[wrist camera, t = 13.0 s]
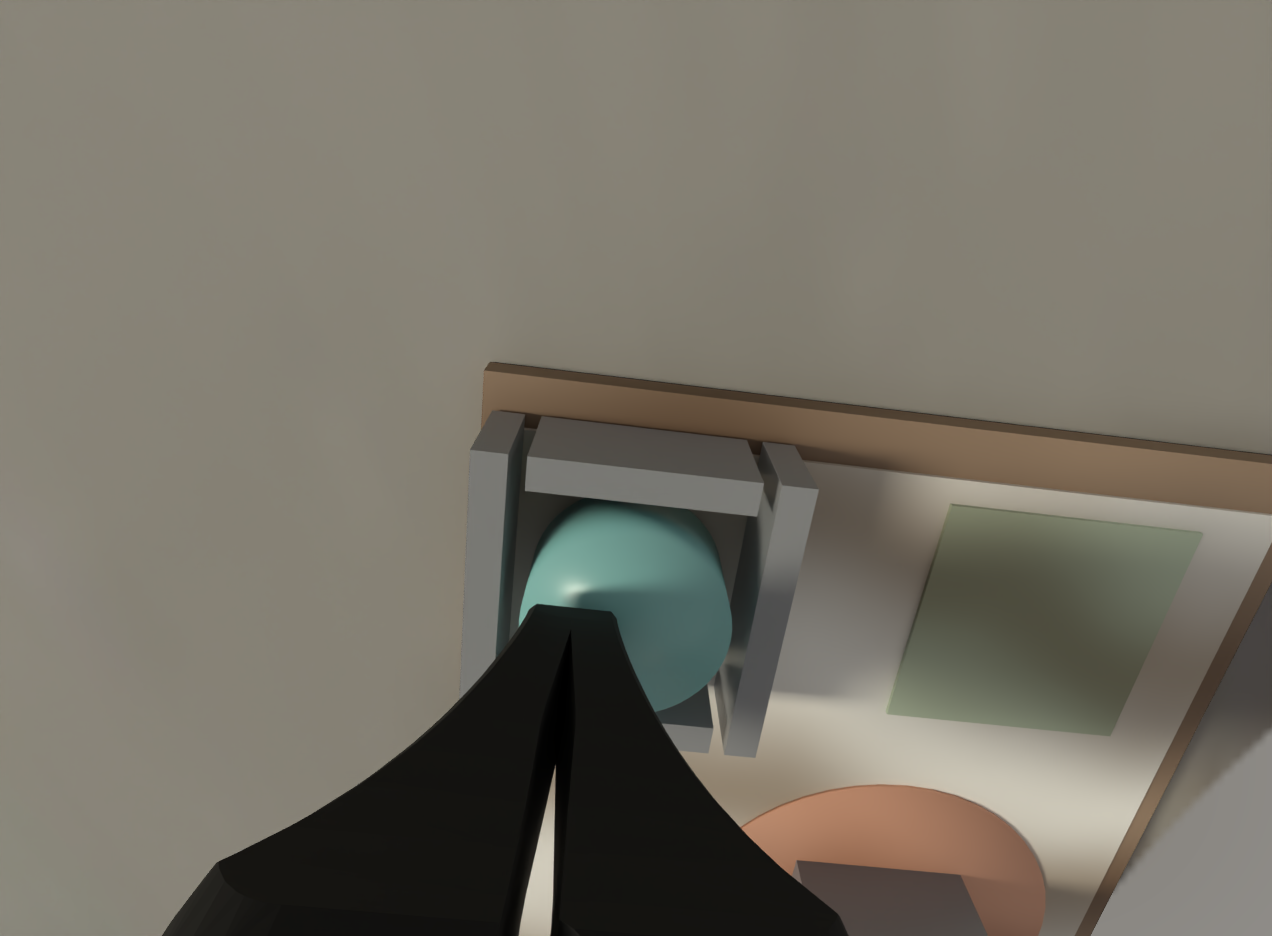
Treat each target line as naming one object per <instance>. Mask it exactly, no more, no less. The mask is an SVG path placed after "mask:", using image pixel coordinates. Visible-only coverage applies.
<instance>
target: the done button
mask: <svg viewBox="0 0 1272 936" xmlns="http://www.w3.org/2000/svg"><path fill="white" fill-rule="evenodd" d="M536 604H545V605H554V606H564V607H573V608H583V609H592V610H602V611H611V612H612V613H613V614H614V616H615V617H616V618H617V623H618V627H619V631H620V634H621V637H622V640H623V643H624V646H625V649H626V651H627V654H628V656H629V659H630V662H631V664H632V666H633V669H634V671H635V673H636V675H637V677H638V679H639V681H640V683H641V686H642V688H643V690H644V692H645V694H646V696H647V698H648V700H649V702H650V704H651V705H652V707H653V709H654V711H655V712H657V711H660V710H664V709H667V708H669V707H672V706H674V705H677V704H679V703H681V702H683V701H684V700H686V699H688V698H690V697H691V696H693V695H694V694H695V693H697V692H698V691H700V690H701V689H702V688H703V687H704V686H705V685H706V684H707V683H708V682H709V681H710V680H711V679H712V678H713V676H714V675H715V674H716V673H717V671H718V670H719V668H720V667H721V665H722V663H723V661H724V659H725V657H726V655H727V652H728V649H729V645H730V642H731V635H732V616H731V610H730V605H729V600H728V596H727V591H726V586H725V581H724V577H723V572H722V567H721V563H720V558H719V553H718V550H717V547H716V545H715V542H714V540H713V538H712V536H711V534H710V533H709V531H708V530H707V528H706V527H705V526H704V524H703V523H702V522H701V521H700V520H699V519H698V518H697V517H696V516H695V515H694V514H693V513H692V512H690V511H689V510H688V509H684V508H675V507H666V506H657V505H648V504H639V503H630V502H621V501H612V500H603V499H594V498H583V499H581V500H579V501H577V502H575V503H574V504H572V505H570V506H569V507H567V508H566V509H565V510H563V511H562V512H561V513H560V514H559V515H557V516H556V517H555V518H554V520H553V521H552V522H551V523H550V524H549V525H548V527H547V528H546V530H545V531H544V532H543V534H542V536H541V538H540V540H539V542H538V544H537V547H536V550H535V553H534V557H533V561H532V565H531V569H530V573H529V577H528V581H527V585H526V589H525V593H524V597H523V601H522V605H521V609H520V616H519V626H520V625H521V623H522V621H523V620H524V618H525V616H526V614H527V612H528V610H529V609H530V608H531V607H533V606H534V605H536Z"/></svg>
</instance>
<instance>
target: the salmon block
mask: <svg viewBox="0 0 1272 936" xmlns="http://www.w3.org/2000/svg"><path fill="white" fill-rule="evenodd" d="M792 877H793V878H795V879H796V880H797V881H798V882H800V883H801V884H802V885H803V886H804V887H806V888H807V889H808V890H809V891H811V892H812V893H813V894H814V895H816V896H817V897H818V898H819V899H820V900H822V901H823V902H824V903H825V904H827V905H828V906H829V907H830V908H831V909H833V910H834V911H835V912H836V913H838V915H839V916H840V918H841V920H842V922H843V924H844V926H845V929H846V931H847V933H848V935H849V936H988V935H987V932H986V930H985V928H984V926H983V924H982V921H981V919H980V917H979V915H978V913H977V910H976V908H975V906H974V904H973V902H972V899H971V897H970V895H969V893H968V891H967V888H966V886H965V884H964V882H963V880H962V877H961V875H958V874H947V873H936V872H925V871H913V870H902V869H891V868H880V867H869V866H858V865H846V864H835V863H824V862H813V861H802V860H796V863H795V867H794V870H793V874H792Z"/></svg>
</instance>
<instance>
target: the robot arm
mask: <svg viewBox="0 0 1272 936" xmlns="http://www.w3.org/2000/svg"><path fill="white" fill-rule="evenodd" d="M555 765H556V771H555V819H554V871H553V905H552V922H551V933H550V936H849V935H848V933H847V931H846V929H845V926H844V924H843V922H842V920H841V918H840V916H839V915H838V913H836V912H835V911H834V910H833V909H831V908H830V907H829V906H828V905H827V904H825V903H824V902H823V901H822V900H820V899H819V898H818V897H817V896H816V895H814V894H813V893H812V892H811V891H809V890H808V889H807V888H806V887H804V886H803V885H802V884H801V883H800V882H798V881H797V880H796V879H795V878H793V877H792V876H791V875H790V874H789V873H787V872H786V871H785V870H784V869H783V868H781V867H780V866H779V865H778V864H777V863H776V862H775V861H774V860H773V859H772V858H771V857H770V856H769V855H767V854H766V853H765V852H764V851H763V850H762V849H761V848H760V847H759V846H758V845H757V844H756V843H755V842H754V841H753V840H752V839H751V838H750V837H749V836H748V835H747V834H746V833H745V832H744V831H743V830H742V829H741V828H740V827H739V825H738V824H737V823H736V822H735V821H734V820H733V819H732V818H731V817H730V816H729V814H728V813H727V812H726V811H725V810H724V809H723V808H722V807H721V806H720V805H719V803H718V802H717V801H716V800H715V799H714V798H713V796H712V795H711V794H710V793H709V791H708V790H707V789H706V787H705V786H704V785H703V784H702V782H701V781H700V780H699V779H698V777H697V776H696V775H695V773H694V772H693V770H692V769H691V768H690V766H689V765H688V763H687V762H686V761H685V759H684V758H683V756H682V755H681V754H680V752H679V751H678V749H677V748H676V746H675V745H674V743H673V741H672V740H671V738H670V737H669V735H668V733H667V732H666V730H665V728H664V727H663V725H662V723H661V721H660V720H659V718H658V716H657V715H656V713H655V711H654V709H653V707H652V705H651V704H650V702H649V700H648V698H647V696H646V694H645V692H644V690H643V688H642V686H641V683H640V681H639V679H638V677H637V675H636V673H635V671H634V669H633V666H632V664H631V662H630V659H629V656H628V654H627V651H626V649H625V646H624V643H623V640H622V637H621V634H620V631H619V627H618V623H617V618H616V617H615V616H614V614H613V613H612V612H611V611H602V610H592V609H583V608H573V607H564V606H554V605H545V604H536V605H534V606H533V607H531V608H530V609H529V610H528V612H527V614H526V616H525V618H524V620H523V621H522V623H521V625H520V626H519V628H518V629H517V631H516V632H515V634H514V635H513V636H512V638H511V639H510V641H509V642H508V643H507V645H506V646H505V647H504V649H503V650H502V651H501V653H500V654H499V655H498V656H497V657H496V659H495V660H494V661H493V662H492V664H491V665H490V666H489V667H488V669H487V670H486V671H485V672H484V673H483V675H482V676H481V677H480V678H479V679H478V680H477V681H476V682H475V684H474V685H473V686H472V687H471V688H470V689H469V690H468V691H467V692H466V693H465V694H464V695H463V696H462V697H461V698H460V699H459V701H458V702H457V703H456V704H455V705H454V706H453V707H452V708H451V709H450V710H449V711H448V712H447V713H446V714H445V715H444V716H443V717H442V718H441V719H440V720H438V721H437V722H436V723H435V724H434V725H433V726H432V727H431V728H430V729H429V730H427V731H426V732H425V733H424V734H423V735H422V736H421V737H419V738H418V739H417V740H416V741H415V742H414V743H412V744H411V745H410V746H409V747H408V748H406V749H405V750H404V751H403V752H401V753H400V754H399V755H397V756H396V757H395V758H394V759H392V760H391V761H390V762H388V763H387V764H386V765H384V766H383V767H382V768H381V769H379V770H378V771H377V772H375V773H374V774H372V775H371V776H370V777H368V778H367V779H366V780H364V781H363V782H361V783H360V784H358V785H357V786H355V787H354V788H352V789H351V790H349V791H348V792H346V793H344V794H343V795H341V796H340V797H338V798H336V799H335V800H333V801H332V802H330V803H329V804H327V805H325V806H324V807H322V808H321V809H319V810H317V811H316V812H314V813H313V814H311V815H309V816H308V817H306V818H304V819H302V820H300V821H298V822H297V823H295V824H293V825H291V826H289V827H287V828H285V829H283V830H282V831H280V832H278V833H276V834H274V835H272V836H270V837H268V838H266V839H264V840H262V841H260V842H258V843H256V844H254V845H252V846H250V847H248V848H246V849H244V850H242V851H240V852H238V853H236V854H234V855H232V856H229V857H227V858H225V859H223V860H221V861H219V862H217V863H216V864H215V865H214V866H213V868H212V869H211V870H210V872H209V873H208V874H207V875H206V877H205V878H204V879H203V881H202V882H201V883H200V884H199V886H198V887H197V888H196V890H195V891H194V892H193V894H192V895H191V896H190V897H189V899H188V900H187V901H186V903H185V904H184V905H183V907H182V908H181V909H180V911H179V912H178V913H177V915H176V916H175V917H174V919H173V920H172V921H171V923H170V924H169V926H168V927H167V929H166V930H165V932H164V933H163V935H162V936H519V931H520V924H521V918H522V913H523V908H524V902H525V897H526V892H527V888H528V883H529V879H530V875H531V870H532V866H533V862H534V857H535V853H536V849H537V844H538V840H539V835H540V831H541V827H542V822H543V818H544V814H545V809H546V805H547V801H548V796H549V792H550V787H551V783H552V779H553V774H554V770H555Z"/></svg>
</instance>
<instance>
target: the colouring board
mask: <svg viewBox="0 0 1272 936" xmlns="http://www.w3.org/2000/svg"><path fill="white" fill-rule="evenodd" d="M492 410H493V411H502V412H510V413H519V414H525V424H524V438H523V452H522V466H521V480H520V494H519V508H518V522H517V536H516V550H515V564H514V578H513V592H512V606H511V620H510V634H509V641H510V639H511V638H512V636H513V635H514V634H515V632H516V631H517V629H518V628H519V616H520V609H521V605H522V601H523V597H524V593H525V589H526V585H527V581H528V577H529V573H530V569H531V565H532V561H533V557H534V553H535V550H536V547H537V544H538V542H539V540H540V538H541V536H542V534H543V532H544V531H545V530H546V528H547V527H548V525H549V524H550V523H551V522H552V521H553V520H554V518H555V517H556V516H557V515H559V514H560V513H561V512H562V511H563V510H565V509H566V508H567V507H569V506H570V505H572V504H574V503H575V502H577V501H579V500H581V499H583V498H585V497H576V496H567V495H558V494H549V493H540V492H531V491H525V480H526V467H527V456H528V453H529V450H530V447H531V445H532V442H533V439H534V436H535V433H536V431H537V428H538V425H539V422H540V419H541V417H542V416H545V417H553V418H562V419H571V420H579V421H588V422H596V423H605V424H614V425H622V426H631V427H639V428H648V429H657V430H665V431H674V432H682V433H691V434H699V435H708V436H717V437H725V438H734V439H742V440H747V442H748V444H749V447H750V449H751V452H752V454H753V457H754V459H755V462H756V464H757V467H758V463H759V458H760V453H761V448H762V443H763V442H768V443H777V444H785V445H794V446H795V447H796V449H797V451H798V453H799V454H800V456H801V458H802V460H803V462H804V463H805V465H806V467H807V469H808V471H809V472H810V474H811V476H812V478H813V480H814V482H815V483H816V485H817V487H818V489H819V491H818V496H817V500H816V504H815V508H814V513H813V517H812V521H811V525H810V529H809V534H808V538H807V542H806V546H805V551H804V555H803V559H802V563H801V567H800V572H799V576H798V580H797V584H796V589H795V593H794V597H793V601H792V606H791V610H790V614H789V618H788V622H787V627H786V631H785V635H784V639H783V644H782V648H781V652H780V656H779V660H778V665H777V669H776V673H775V677H774V682H773V686H772V690H771V694H770V698H769V703H768V707H767V711H766V715H765V720H764V724H763V728H762V732H761V737H760V741H759V745H758V749H757V753H756V758H750V757H739V756H729V755H724V751H723V744H722V738H721V731H720V724H719V718H718V711H717V704H716V698H715V691H714V683H715V678H716V674H715V675H714V676H713V678H712V679H711V680H710V681H709V682H708V683H707V685H708V692H709V699H710V706H711V714H712V721H713V728H714V729H713V734H712V738H711V743H710V748H709V753H697V752H687V751H679V752H680V754H681V755H682V756H683V758H684V759H685V761H686V762H687V763H688V765H689V766H690V768H691V769H692V770H693V772H694V773H695V775H696V776H697V777H698V779H699V780H700V781H701V782H702V784H703V785H704V786H705V787H706V789H707V790H708V791H709V793H710V794H711V795H712V796H713V798H714V799H715V800H716V801H717V802H718V803H719V805H720V806H721V807H722V808H723V809H724V810H725V811H726V812H727V813H728V814H729V816H730V817H731V818H732V819H733V820H734V821H735V822H736V823H737V824H738V825H739V827H740V828H741V829H742V830H743V831H744V832H745V833H746V834H747V835H748V836H749V837H750V838H751V839H752V840H753V841H754V842H755V843H756V844H757V845H758V846H759V847H760V848H761V849H762V850H763V851H764V852H765V853H766V854H767V855H769V856H770V857H771V858H772V859H773V860H774V861H775V862H776V863H777V864H778V865H779V866H780V867H781V868H783V869H784V870H785V871H786V872H787V873H789V874H790V875H791V876H792V874H793V870H794V867H795V863H796V860H802V861H813V862H824V863H835V864H846V865H858V866H869V867H880V868H891V869H902V870H913V871H925V872H936V873H947V874H958V875H961V877H962V880H963V882H964V884H965V886H966V888H967V891H968V893H969V895H970V897H971V899H972V902H973V904H974V906H975V908H976V910H977V913H978V915H979V917H980V919H981V921H982V924H983V926H984V928H985V930H986V932H987V935H988V936H1090V935H1091V934H1092V931H1093V930H1094V928H1095V926H1096V924H1097V922H1098V920H1099V918H1100V916H1101V914H1102V912H1103V910H1104V908H1105V906H1106V904H1107V902H1108V900H1109V898H1110V897H1111V895H1112V893H1113V891H1114V889H1115V887H1116V885H1117V883H1118V881H1119V879H1120V877H1121V875H1122V873H1123V871H1124V869H1125V867H1126V865H1127V863H1128V861H1129V859H1130V858H1131V856H1132V854H1133V852H1134V850H1135V848H1136V846H1137V844H1138V842H1139V840H1140V838H1141V836H1142V834H1143V832H1144V830H1145V828H1146V826H1147V824H1148V822H1149V820H1150V819H1151V817H1152V815H1153V813H1154V811H1155V809H1156V807H1157V805H1158V803H1159V801H1160V799H1161V797H1162V795H1163V793H1164V791H1165V789H1166V787H1167V785H1168V783H1169V781H1170V780H1171V778H1172V776H1173V774H1174V772H1175V770H1176V768H1177V766H1178V764H1179V762H1180V760H1181V758H1182V756H1183V754H1184V752H1185V750H1186V748H1187V746H1188V744H1189V743H1190V741H1191V739H1192V737H1193V735H1194V733H1195V731H1196V729H1197V727H1198V725H1199V723H1200V721H1201V719H1202V717H1203V715H1204V713H1205V711H1206V709H1207V707H1208V705H1209V704H1210V702H1211V700H1212V698H1213V696H1214V694H1215V692H1216V690H1217V688H1218V686H1219V684H1220V682H1221V680H1222V678H1223V676H1224V674H1225V672H1226V670H1227V668H1228V666H1229V665H1230V663H1231V661H1232V659H1233V657H1234V655H1235V653H1236V651H1237V649H1238V647H1239V645H1240V643H1241V641H1242V639H1243V637H1244V635H1245V633H1246V631H1247V629H1248V627H1249V626H1250V624H1251V622H1252V620H1253V618H1254V616H1255V614H1256V612H1257V610H1258V608H1259V606H1260V604H1261V602H1262V600H1263V598H1264V596H1265V594H1266V592H1267V590H1268V588H1269V587H1270V585H1271V583H1272V455H1264V454H1255V453H1247V452H1239V451H1230V450H1222V449H1214V448H1205V447H1197V446H1189V445H1180V444H1172V443H1163V442H1155V441H1147V440H1138V439H1130V438H1122V437H1113V436H1105V435H1096V434H1088V433H1080V432H1071V431H1063V430H1055V429H1046V428H1038V427H1030V426H1021V425H1013V424H1004V423H996V422H988V421H979V420H971V419H963V418H954V417H946V416H937V415H929V414H921V413H912V412H904V411H896V410H887V409H879V408H871V407H862V406H854V405H845V404H837V403H829V402H820V401H812V400H804V399H795V398H787V397H778V396H770V395H762V394H753V393H745V392H737V391H728V390H720V389H712V388H703V387H695V386H686V385H678V384H670V383H661V382H653V381H645V380H636V379H628V378H619V377H611V376H603V375H594V374H586V373H578V372H569V371H561V370H553V369H544V368H536V367H527V366H519V365H511V364H502V363H494V362H490V363H489V364H488V366H487V367H486V368H485V370H484V382H483V402H482V423H481V430H482V428H483V426H484V424H485V422H486V421H487V419H488V417H489V415H490V413H491V412H492ZM688 510H689V511H690V512H692V513H693V514H694V515H695V516H696V517H697V518H698V519H699V520H700V521H701V522H702V523H703V524H704V526H705V527H706V528H707V530H708V531H709V533H710V534H711V536H712V538H713V540H714V542H715V545H716V547H717V550H718V553H719V558H720V563H721V567H722V572H723V577H724V581H725V586H726V591H727V596H728V600H729V605H730V603H731V598H732V593H733V588H734V583H735V578H736V573H737V568H738V563H739V558H740V553H741V548H742V543H743V538H744V533H745V528H746V523H747V518H748V516H747V515H738V514H729V513H720V512H711V511H702V510H693V509H688ZM555 771H556V765H555V770H554V774H553V779H552V783H551V787H550V792H549V796H548V801H547V805H546V809H545V814H544V818H543V822H542V827H541V831H540V835H539V840H538V844H537V849H536V853H535V857H534V862H533V866H532V870H531V875H530V879H529V883H528V888H527V892H526V897H525V902H524V908H523V913H522V918H521V924H520V931H519V936H550V933H551V922H552V905H553V871H554V819H555Z"/></svg>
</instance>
